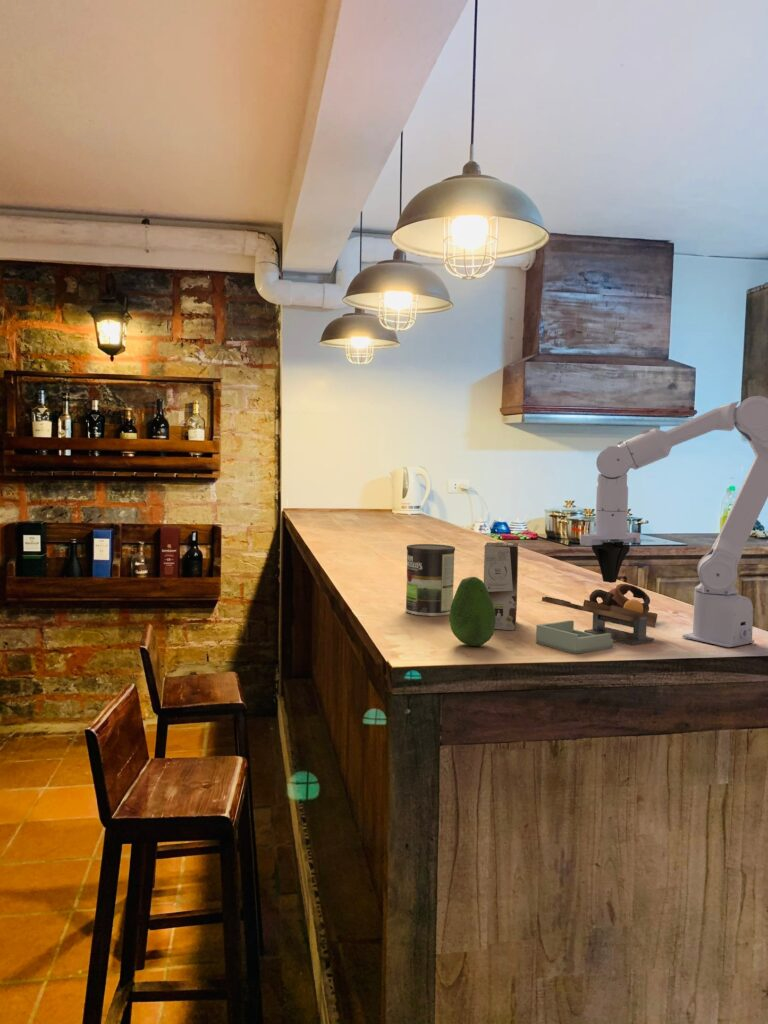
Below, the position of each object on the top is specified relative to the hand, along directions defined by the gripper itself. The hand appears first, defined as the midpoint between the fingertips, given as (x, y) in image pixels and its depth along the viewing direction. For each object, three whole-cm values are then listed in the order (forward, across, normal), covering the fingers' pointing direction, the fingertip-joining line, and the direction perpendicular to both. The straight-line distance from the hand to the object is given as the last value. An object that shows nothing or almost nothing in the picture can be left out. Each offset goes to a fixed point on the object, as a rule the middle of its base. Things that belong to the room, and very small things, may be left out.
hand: (609, 581), depth 143 cm
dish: (+9, +15, +6) cm, 19 cm away
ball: (+4, -1, +5) cm, 7 cm away
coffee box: (+10, +15, -14) cm, 23 cm away
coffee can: (+10, +19, -32) cm, 38 cm away
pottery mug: (+10, -12, -8) cm, 17 cm away
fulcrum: (+9, +3, +5) cm, 11 cm away
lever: (+6, +5, +2) cm, 8 cm away
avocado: (+10, +31, -3) cm, 33 cm away
